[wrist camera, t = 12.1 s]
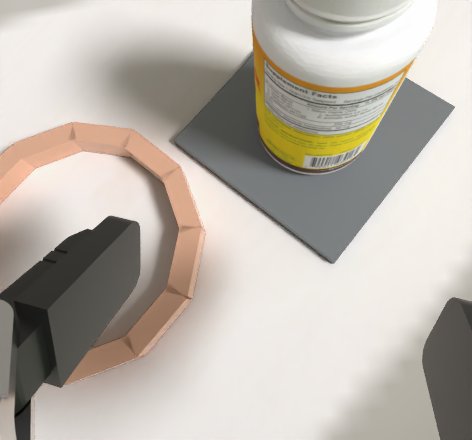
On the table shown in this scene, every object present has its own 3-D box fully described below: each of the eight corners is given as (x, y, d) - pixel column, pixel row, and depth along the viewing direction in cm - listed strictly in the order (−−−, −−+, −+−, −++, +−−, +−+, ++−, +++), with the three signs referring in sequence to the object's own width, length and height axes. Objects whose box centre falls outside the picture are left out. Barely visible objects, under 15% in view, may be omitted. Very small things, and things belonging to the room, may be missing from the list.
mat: (175, 143, 20) (173, 140, 19) (293, 16, 21) (293, 10, 21) (333, 263, 17) (334, 262, 17) (451, 111, 19) (455, 107, 19)
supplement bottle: (299, 61, 20) (332, -191, 10) (390, 117, 19) (529, -110, 9) (233, 139, 19) (201, -57, 9) (325, 202, 18) (400, 53, 8)
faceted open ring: (-83, 263, 19) (-106, 259, 18) (84, 96, 21) (74, 83, 20) (76, 437, 16) (62, 446, 15) (252, 228, 18) (251, 221, 17)
